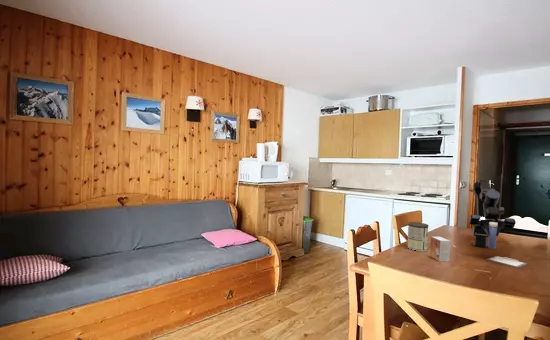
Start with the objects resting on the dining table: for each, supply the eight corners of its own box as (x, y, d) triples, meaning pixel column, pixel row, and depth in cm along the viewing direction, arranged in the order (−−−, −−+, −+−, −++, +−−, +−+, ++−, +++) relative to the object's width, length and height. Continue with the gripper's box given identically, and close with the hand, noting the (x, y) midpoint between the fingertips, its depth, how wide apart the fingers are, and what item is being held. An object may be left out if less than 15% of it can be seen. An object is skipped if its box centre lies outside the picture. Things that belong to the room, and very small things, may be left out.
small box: (429, 256, 156) (430, 236, 155) (439, 256, 156) (440, 236, 156) (439, 261, 148) (440, 240, 147) (449, 261, 148) (450, 240, 148)
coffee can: (406, 245, 175) (407, 221, 175) (425, 247, 172) (427, 223, 171) (407, 250, 165) (409, 224, 165) (428, 252, 162) (430, 226, 162)
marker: (488, 246, 153) (490, 221, 153) (496, 248, 151) (498, 222, 150) (486, 247, 151) (488, 222, 151) (494, 249, 148) (496, 223, 148)
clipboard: (496, 256, 158) (496, 254, 158) (527, 264, 147) (527, 262, 147) (487, 260, 153) (487, 257, 153) (518, 268, 142) (518, 266, 142)
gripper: (471, 199, 158) (473, 224, 148) (515, 202, 149) (520, 229, 140) (468, 211, 165) (470, 236, 156) (510, 215, 157) (515, 241, 147)
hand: (493, 235), depth 149 cm, fingers closed on marker, 3 cm apart
